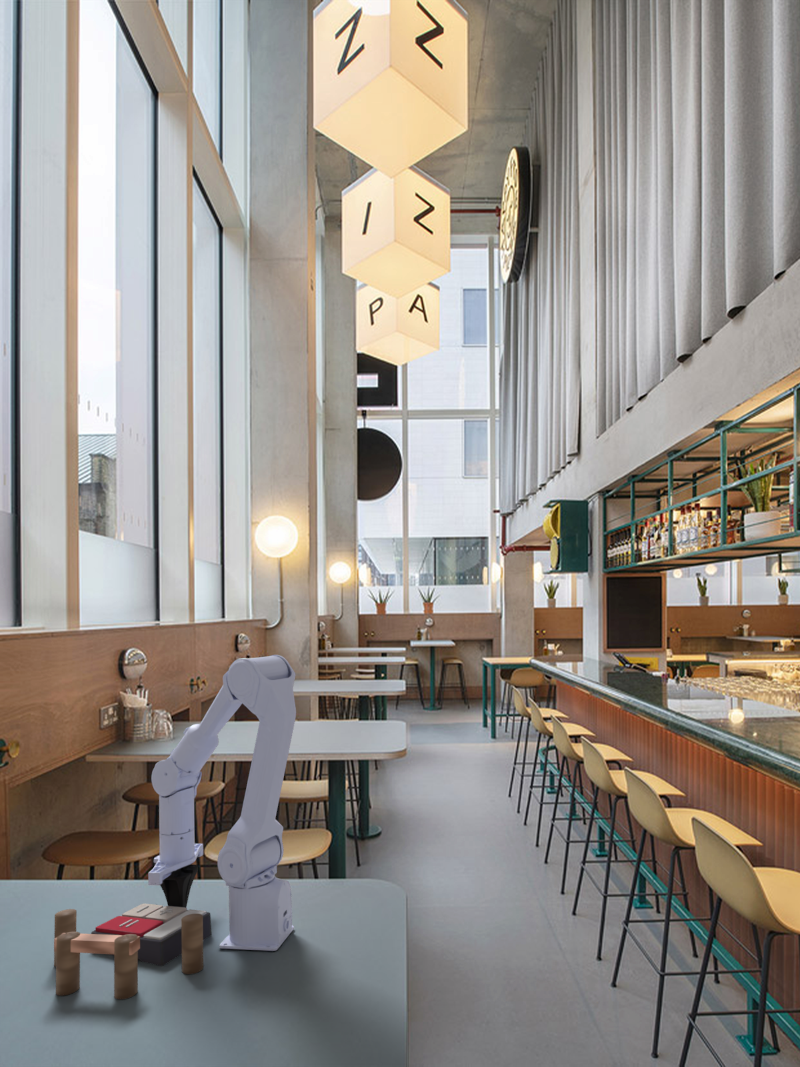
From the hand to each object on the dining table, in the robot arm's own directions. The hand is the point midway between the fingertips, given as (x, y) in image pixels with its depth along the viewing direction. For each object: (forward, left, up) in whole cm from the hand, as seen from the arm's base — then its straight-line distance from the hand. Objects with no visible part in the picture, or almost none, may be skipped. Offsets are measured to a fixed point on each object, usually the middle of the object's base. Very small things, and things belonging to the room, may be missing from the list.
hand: (177, 914), depth 116 cm
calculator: (+1, +7, -2) cm, 7 cm away
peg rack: (0, +18, -1) cm, 18 cm away
